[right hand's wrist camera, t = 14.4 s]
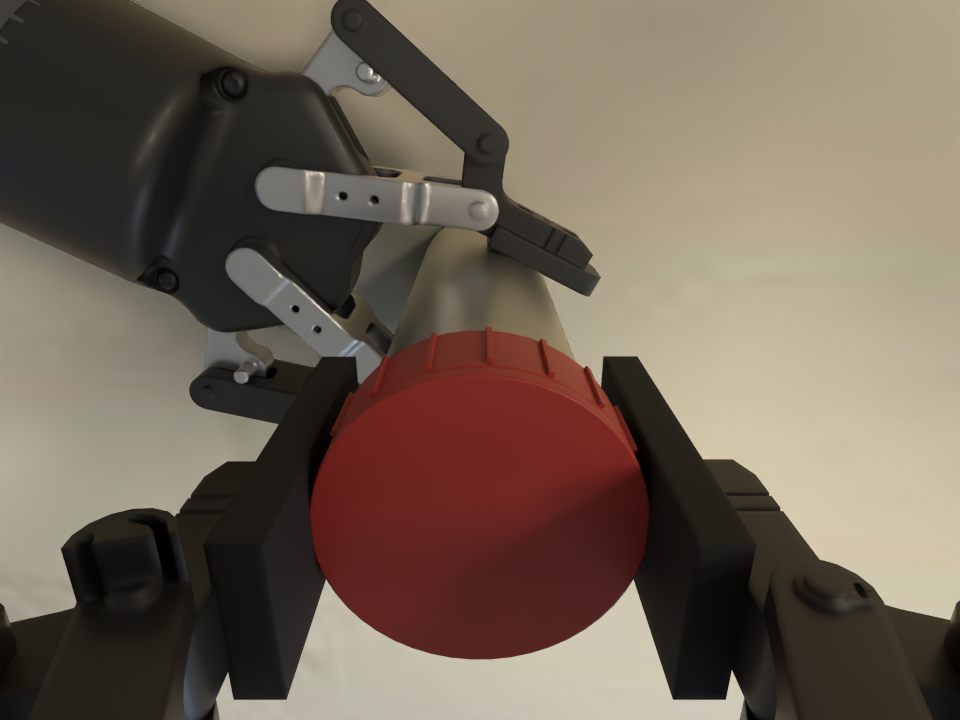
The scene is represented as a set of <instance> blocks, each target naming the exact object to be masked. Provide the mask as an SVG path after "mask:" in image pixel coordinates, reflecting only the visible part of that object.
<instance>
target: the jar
mask: <svg viewBox="0 0 960 720" xmlns="http://www.w3.org/2000/svg"><path fill="white" fill-rule="evenodd" d="M486 327H492V331H499V332H507V333H512V334H516V335H521V336H525V337H529V338H531V339H534V340H537V341H540V339H541V338H542V339H544V340H546V341H547V345H549V346H551V347H553V348H555V349H556V350H558V351H560V352H562V353H564V354H565V355H567V356H568V357H570V358H571V359H572V360H574V361H575V359H574V357H573V354H572V351H571V349H570V346H569V343H568V341H567V338H566V335H565V333H564V330H563V328H562V325H561V322H560V320H559V317H558V314H557V312H556V309H555V306H554V304H553V301H552V299H551V296H550V293H549V291H548V288H547V285H546V283H545V280H544V278H543V275H542V274H541V273H539V272H537V271H535V270H533V269H531V268H529V267H527V266H525V265H523V264H522V263H520V262H518V261H516V260H514V259H512V258H510V257H508V256H506V255H504V254H502V253H500V252H498V251H496V250H494V249H492V248H490V247H488V246H487V237H486V236H484V235H482V234H480V233H478V232H476V231H473V230H465V229H457V228H449V227H444V228H443V229H441V230H440V231H439V232H438V233H437V234H436V236H435V237H434V238H433V240H432V241H431V243H430V244H429V246H428V248H427V251H426V253H425V256H424V258H423V261H422V264H421V266H420V269H419V272H418V274H417V277H416V279H415V282H414V285H413V287H412V290H411V293H410V295H409V298H408V300H407V303H406V306H405V308H404V311H403V314H402V316H401V319H400V321H399V324H398V327H397V329H396V332H395V335H394V337H393V340H392V343H391V345H390V348H389V350H388V353H387V357H388V358H390V357H391V356H393V355H394V354H396V353H398V352H400V351H401V350H403V349H405V348H407V347H409V346H411V345H413V344H415V343H418V342H420V341H423V340H425V339H428V338H430V334H432V333H436V334H437V336H439V335H443V334H447V333H453V332H461V331H468V330H486Z"/></svg>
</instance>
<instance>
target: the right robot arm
mask: <svg viewBox="0 0 960 720" xmlns="http://www.w3.org/2000/svg"><path fill="white" fill-rule="evenodd" d="M601 388H602V390H603V391H604V392H605V394H606V395H607V397H608V399H609V401H610V403H611V404H612V406H613V407H614V406H616V405H617V406H618V408H619V410H620V412H621V415H622V417H623V419H624V421H625V423H626V425H627V427H628V430H629V432H630V434H631V436H632V438H633V440H634V443H635V445H636V447H637V449H638V451H636V452H634V455H635V457H636V459H637V461H638V463H639V466H640V469H641V471H642V474H643V476H644V479H645V482H646V486H647V490H648V495H649V500H650V513H649V523H648V532H647V540H646V547H645V554H644V558H643V560H642V562H641V564H640V567H639V569H638V571H637V574H636V575H635V577H634V582H635V585H636V588H637V591H638V594H639V597H640V600H641V603H642V606H643V609H644V612H645V615H646V618H647V621H648V624H649V628H650V631H651V634H652V637H653V640H654V643H655V646H656V649H657V652H658V655H659V658H660V661H661V664H662V667H663V670H664V673H665V676H666V679H667V683H668V686H669V689H670V692H671V695H672V698H673V700H726V696H727V691H728V686H729V681H730V676H731V671H733V673H734V675H735V677H736V680H737V682H738V684H739V686H740V688H741V691H742V693H743V695H744V697H745V698H744V702H743V707H742V712H741V716H740V720H960V601H959V602H957V603H956V606H955V609H954V612H953V615H952V617H951V620H947V619H942V618H938V617H933V616H929V615H924V614H920V613H915V612H910V611H906V610H901V609H897V608H894V607H890V606H887V605H885V604H884V602H883V600H882V599H881V598H880V596H879V595H878V593H877V592H876V590H875V589H874V588H873V587H872V586H871V585H870V584H869V583H867V582H866V581H865V580H863V579H862V578H861V577H860V576H858V575H857V574H855V573H853V572H851V571H849V570H847V569H845V568H843V567H841V566H839V565H837V564H834V563H830V562H826V561H823V560H819V558H818V557H817V556H816V554H815V553H814V552H813V550H812V549H811V548H810V546H809V545H808V544H807V542H806V541H805V540H804V539H803V537H802V536H801V535H800V533H799V532H798V531H797V529H796V528H795V527H794V525H793V524H792V523H791V521H790V520H789V519H788V517H787V516H786V515H785V513H784V512H783V511H780V507H779V505H778V504H777V503H776V501H775V500H774V499H773V497H772V496H769V492H768V491H767V489H766V488H765V487H764V486H763V484H762V483H761V482H760V480H759V479H758V478H757V476H756V475H755V474H753V473H752V472H750V471H749V470H747V469H746V468H744V467H743V466H741V465H740V464H738V463H737V462H736V461H734V460H703V459H702V457H701V456H700V454H699V453H698V451H697V450H696V448H695V446H694V445H693V443H692V442H691V440H690V439H689V437H688V435H687V434H686V432H685V431H684V429H683V428H682V426H681V424H680V423H679V421H678V420H677V418H676V417H675V415H674V414H673V412H672V410H671V409H670V407H669V406H668V404H667V403H666V401H665V399H664V398H663V396H662V395H661V393H660V392H659V390H658V388H657V387H656V385H655V384H654V382H653V381H652V379H651V377H650V376H649V374H648V373H647V371H646V370H645V368H644V366H643V365H642V363H641V362H640V360H639V359H638V357H603V370H602V382H601ZM357 389H358V375H357V363H356V357H322V358H321V359H320V361H319V363H318V364H317V366H316V367H315V369H314V370H313V372H312V374H311V375H310V377H309V378H308V380H307V381H306V383H305V385H304V386H303V388H302V389H301V391H300V392H299V394H298V396H297V397H296V399H295V400H294V402H293V403H292V405H291V406H290V408H289V410H288V411H287V413H286V414H285V416H284V417H283V419H282V421H281V422H280V424H279V425H278V427H277V428H276V430H275V432H274V433H273V435H272V436H271V438H270V439H269V441H268V443H267V444H266V446H265V447H264V449H263V450H262V452H261V454H260V455H259V457H258V458H257V460H256V461H255V462H226V463H224V464H223V465H221V466H220V467H218V468H217V469H215V470H214V471H212V472H211V473H210V474H208V475H207V476H205V477H204V478H203V480H202V481H201V482H200V484H199V485H198V486H197V488H196V489H195V490H194V492H193V493H192V494H191V498H188V500H187V501H186V502H185V504H184V505H183V506H182V508H181V509H180V513H179V514H176V516H175V517H174V516H173V515H172V514H170V513H169V512H168V511H163V510H159V509H154V508H145V509H131V510H127V511H123V512H118V513H114V514H110V515H108V516H106V517H103V518H101V519H99V520H96V521H94V522H92V523H89V524H88V525H86V526H85V527H84V528H82V529H81V530H79V531H78V532H76V533H75V534H73V535H72V536H71V537H70V538H69V540H68V541H67V542H66V543H65V544H64V546H63V547H62V548H61V551H62V554H63V558H64V561H65V564H66V568H67V571H68V574H69V578H70V581H71V584H72V587H73V591H74V594H75V597H76V601H77V603H76V606H75V608H72V609H68V610H65V611H61V612H57V613H53V614H48V615H44V616H39V617H34V618H30V619H25V620H21V621H16V622H12V623H10V622H9V619H8V616H7V613H6V611H5V608H4V606H3V605H2V604H1V603H0V720H220V719H219V712H218V707H217V702H216V697H217V695H218V693H219V691H220V688H221V686H222V684H223V682H224V679H225V677H226V675H227V673H229V678H230V683H231V688H232V693H233V698H234V700H286V699H287V696H288V693H289V690H290V687H291V684H292V681H293V678H294V675H295V672H296V669H297V666H298V663H299V660H300V657H301V654H302V651H303V648H304V645H305V641H306V638H307V635H308V632H309V629H310V626H311V623H312V620H313V617H314V614H315V611H316V608H317V605H318V602H319V599H320V596H321V593H322V590H323V586H324V583H325V580H326V578H325V576H324V574H323V572H322V570H321V568H320V566H319V563H318V561H317V559H316V555H315V551H314V544H313V536H312V527H311V518H310V498H311V493H312V488H313V484H314V481H315V478H316V475H317V472H318V470H319V467H320V465H321V462H322V460H323V458H324V456H325V454H326V451H327V449H328V447H329V445H330V442H331V440H332V438H333V437H332V436H330V433H331V431H332V429H333V427H334V424H335V422H336V420H337V418H338V416H339V414H340V412H341V409H342V407H343V405H344V403H345V401H346V399H347V396H348V395H349V393H350V392H352V393H355V392H356V391H357Z"/></svg>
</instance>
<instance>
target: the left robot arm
mask: <svg viewBox="0 0 960 720" xmlns="http://www.w3.org/2000/svg"><path fill="white" fill-rule="evenodd" d="M331 24H332V28H333V29H332V30H331V32H330V33H329V34H328V36H327V37H326V39H325V40H324V42H323V43H322V45H321V46H320V47H319V49H318V50H317V52H316V53H315V55H314V56H313V58H312V59H311V60H310V62H309V63H308V65H307V66H306V68H305V69H304V71H303V72H302V73H301V74H299V73H295V72H267V71H264V70H262V69H259V68H257V67H255V66H253V65H251V64H249V63H247V62H245V61H243V60H241V59H240V58H238V57H236V56H234V55H232V54H230V53H228V52H226V51H224V50H223V49H221V48H219V47H217V46H215V45H213V44H211V43H209V42H207V41H206V40H204V39H202V38H200V37H198V36H196V35H194V34H192V33H190V32H189V31H187V30H185V29H183V28H181V27H179V26H177V25H175V24H173V23H172V22H170V21H168V20H166V19H164V18H162V17H160V16H158V15H156V14H155V13H153V12H151V11H149V10H147V9H145V8H143V7H141V6H139V5H138V4H136V3H134V2H132V1H130V0H0V223H3V224H5V225H7V226H9V227H11V228H14V229H16V230H18V231H20V232H22V233H25V234H27V235H29V236H31V237H33V238H35V239H38V240H40V241H42V242H44V243H46V244H49V245H51V246H53V247H55V248H57V249H60V250H62V251H64V252H66V253H69V254H71V255H73V256H75V257H77V258H80V259H82V260H84V261H86V262H88V263H91V264H93V265H95V266H97V267H99V268H102V269H104V270H106V271H108V272H110V273H113V274H115V275H117V276H119V277H121V278H124V279H126V280H128V281H130V282H133V283H136V284H138V285H142V286H145V287H148V288H151V289H155V290H158V291H161V292H164V293H167V294H169V295H171V296H173V297H174V298H176V299H177V300H178V301H180V302H181V303H182V304H183V305H184V306H185V307H186V308H187V309H188V310H189V311H190V312H191V313H192V314H193V315H194V316H195V318H196V319H197V320H198V321H199V322H200V323H202V324H203V325H204V326H206V327H208V330H207V342H206V355H205V367H204V371H203V372H202V373H201V374H200V375H199V376H198V377H197V378H196V379H195V380H194V381H193V382H192V383H191V385H190V389H189V392H190V396H191V398H192V400H193V401H194V402H195V403H196V404H197V405H198V406H200V407H202V408H204V409H209V410H213V411H218V412H223V413H228V414H233V415H238V416H242V417H247V418H252V419H257V420H262V421H267V422H271V423H276V424H280V422H281V421H282V419H283V417H284V416H285V414H286V413H287V411H288V410H289V408H290V406H291V405H292V403H293V402H294V400H295V399H296V397H297V396H298V394H299V392H300V391H301V389H302V388H303V386H304V385H305V383H306V381H307V380H308V378H309V377H310V375H311V374H312V372H313V370H314V369H315V368H313V367H308V366H304V365H299V364H294V363H290V362H285V361H281V360H276V359H274V357H273V354H272V352H271V351H270V350H269V348H267V347H266V346H263V345H261V344H258V343H256V342H254V341H253V340H252V339H251V338H250V337H249V336H248V335H247V333H246V330H253V329H260V328H267V327H274V326H280V325H286V326H288V327H289V328H290V329H291V330H292V331H293V332H294V333H295V334H296V335H297V336H299V337H300V338H301V339H302V340H303V341H304V342H305V343H306V344H307V345H308V346H309V347H311V348H312V349H313V350H314V351H315V352H316V353H317V354H318V355H319V356H320V357H356V363H357V375H358V388H359V387H360V385H361V384H362V382H363V381H364V380H365V379H366V378H367V377H368V376H369V375H370V374H371V373H372V372H373V371H374V370H375V369H376V368H377V367H378V366H379V365H380V362H381V360H382V358H383V357H385V356H387V353H388V350H389V348H390V345H391V343H392V340H393V337H394V335H393V334H392V333H391V332H390V331H389V330H388V329H387V328H386V327H385V326H384V325H383V324H382V323H381V322H380V321H379V320H378V319H377V317H376V316H375V313H374V311H373V309H372V308H371V307H370V305H369V304H368V303H367V302H366V301H365V300H364V299H363V298H361V297H360V296H359V295H358V294H357V293H356V292H355V291H354V290H353V288H354V286H355V283H356V281H357V279H358V277H359V275H360V271H361V264H362V257H363V251H364V249H365V248H366V247H367V245H368V244H369V243H370V242H371V241H372V239H373V238H374V237H375V236H376V235H377V233H378V232H379V230H380V228H381V226H382V224H383V222H385V223H393V224H401V225H417V224H425V225H433V226H441V227H449V228H457V229H465V230H473V231H476V232H478V233H480V234H482V235H484V236H486V237H487V246H488V247H490V248H492V249H494V250H496V251H498V252H500V253H502V254H504V255H506V256H508V257H510V258H512V259H514V260H516V261H518V262H520V263H522V264H523V265H525V266H527V267H529V268H531V269H533V270H535V271H537V272H539V273H541V274H543V275H545V276H547V277H549V278H551V279H553V280H554V281H556V282H558V283H560V284H562V285H564V286H566V287H568V288H570V289H572V290H574V291H576V292H578V293H580V294H582V295H585V296H588V297H589V296H590V295H591V293H592V291H593V290H594V288H595V286H596V285H597V283H598V281H599V280H600V278H601V277H600V276H599V274H598V273H597V271H596V270H595V269H594V267H593V266H591V265H590V264H588V263H589V261H590V259H591V257H592V256H593V255H592V253H591V252H590V251H589V250H588V248H587V247H586V246H585V244H584V243H583V242H582V241H581V240H580V238H579V237H578V236H577V235H576V234H575V233H573V232H571V231H570V230H568V229H566V228H564V227H562V226H560V225H558V224H556V223H554V222H553V221H550V220H549V219H547V218H545V217H543V216H541V215H539V214H537V213H536V212H534V211H532V210H530V209H528V208H526V207H524V206H522V205H520V204H519V203H517V202H515V201H513V200H511V199H510V198H509V197H508V196H507V195H506V194H505V192H504V190H503V188H502V179H503V171H504V164H505V156H506V154H507V151H508V147H509V140H508V136H507V134H506V132H505V130H504V129H503V128H502V127H501V126H500V125H499V124H498V123H497V122H496V121H495V120H494V119H493V118H491V117H490V116H489V115H488V114H487V113H486V112H485V111H484V110H483V109H482V108H481V107H480V106H479V105H478V104H476V103H475V102H474V101H473V100H472V99H471V98H470V97H469V96H468V95H467V94H466V93H465V92H464V91H463V90H462V89H460V88H459V87H458V86H457V85H456V84H455V83H454V82H453V81H452V80H451V79H450V78H449V77H448V76H447V75H445V74H444V73H443V72H442V71H441V70H440V69H439V68H438V67H437V66H436V65H435V64H434V63H433V62H432V61H430V60H429V59H428V58H427V57H426V56H425V55H424V54H423V53H422V52H421V51H420V50H419V49H418V48H417V47H415V46H414V45H413V44H412V43H411V42H410V41H409V40H408V39H407V38H406V37H405V36H404V35H403V34H402V33H401V32H399V31H398V30H397V29H396V28H395V27H394V26H393V25H392V24H391V23H390V22H389V21H388V20H387V19H386V18H384V17H383V16H382V15H381V14H380V13H379V12H378V11H377V10H376V9H375V8H374V7H373V6H372V5H371V4H369V3H368V2H367V1H366V0H338V1H337V2H336V4H335V5H334V7H333V9H332V13H331ZM391 87H393V88H394V89H395V90H396V91H397V92H399V93H400V94H401V95H402V96H403V97H404V98H405V99H406V100H407V101H408V102H410V103H411V104H412V105H413V106H414V107H415V108H416V109H417V110H418V111H420V112H421V113H422V114H423V115H424V116H425V117H426V118H427V119H428V120H429V121H431V122H432V123H433V124H434V125H435V126H436V127H437V128H438V129H439V130H441V131H442V132H443V133H444V134H445V135H446V136H447V137H448V138H449V139H451V140H452V141H453V142H454V143H455V144H456V145H457V146H458V147H459V148H460V149H462V150H463V151H464V152H465V155H464V164H463V174H462V179H459V178H452V177H444V176H436V175H430V174H427V173H423V172H417V171H410V170H402V169H394V168H386V167H379V166H372V164H371V162H370V161H369V159H368V157H367V155H366V153H365V152H364V150H363V148H362V146H361V144H360V142H359V141H358V139H357V137H356V135H355V133H354V131H353V130H352V128H351V126H350V124H349V122H348V120H347V119H346V117H345V115H344V113H343V111H342V109H341V108H340V106H339V104H338V102H337V100H336V98H335V97H334V96H335V95H336V93H338V92H339V91H340V90H342V89H345V88H352V89H354V90H356V91H357V92H359V93H360V94H363V95H366V96H372V97H378V96H382V95H384V94H385V93H387V92H388V91H389V90H390V88H391ZM318 326H319V327H321V328H319V327H318Z"/></svg>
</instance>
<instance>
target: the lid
mask: <svg viewBox="0 0 960 720" xmlns="http://www.w3.org/2000/svg"><path fill="white" fill-rule="evenodd" d="M330 436H332V437H333V438H332V440H331V442H330V445H329V447H328V449H327V451H326V454H325V456H324V458H323V460H322V462H321V465H320V467H319V470H318V472H317V475H316V478H315V481H314V484H313V488H312V493H311V498H310V518H311V527H312V536H313V544H314V551H315V555H316V559H317V561H318V563H319V566H320V568H321V570H322V572H323V574H324V576H325V578H326V580H327V581H328V583H329V584H330V586H331V587H332V589H333V590H334V592H335V593H336V594H337V596H338V597H339V598H340V599H341V600H342V601H343V603H344V604H345V605H346V606H347V607H348V608H349V609H350V610H351V611H352V612H353V613H354V614H356V615H357V616H358V617H359V618H360V619H361V620H362V621H364V622H365V623H367V624H368V625H369V626H371V627H372V628H374V629H375V630H376V631H378V632H380V633H382V634H384V635H385V636H387V637H389V638H391V639H393V640H395V641H397V642H399V643H402V644H404V645H406V646H409V647H411V648H414V649H417V650H421V651H424V652H427V653H431V654H436V655H441V656H446V657H451V658H462V659H498V658H508V657H514V656H519V655H524V654H529V653H533V652H536V651H539V650H542V649H545V648H548V647H551V646H553V645H556V644H558V643H560V642H563V641H565V640H567V639H569V638H571V637H573V636H574V635H576V634H578V633H580V632H581V631H583V630H585V629H586V628H588V627H589V626H590V625H592V624H593V623H594V622H596V621H597V620H598V619H600V618H601V617H602V616H603V615H604V614H605V613H606V612H607V611H608V610H609V609H611V608H612V607H613V606H614V605H615V603H616V602H617V601H618V600H619V599H620V597H621V596H622V595H623V594H624V593H625V591H626V590H627V588H628V587H629V585H630V584H631V582H632V580H633V579H634V577H635V575H636V574H637V571H638V569H639V567H640V564H641V562H642V560H643V558H644V554H645V547H646V540H647V532H648V523H649V513H650V500H649V495H648V490H647V486H646V482H645V479H644V476H643V474H642V471H641V469H640V466H639V463H638V461H637V459H636V457H635V455H634V452H636V451H638V449H637V447H636V445H635V443H634V440H633V438H632V436H631V434H630V432H629V430H628V427H627V425H626V423H625V421H624V419H623V417H622V415H621V412H620V410H619V408H618V406H617V405H616V406H614V407H613V406H612V404H611V403H610V401H609V399H608V397H607V395H606V394H605V392H604V391H603V390H602V388H601V387H600V386H599V384H598V383H597V382H596V381H595V379H594V376H593V374H592V372H591V369H590V368H589V367H587V366H586V367H585V368H583V367H581V366H580V365H579V364H578V363H576V362H575V361H574V360H572V359H571V358H570V357H568V356H567V355H565V354H564V353H562V352H560V351H558V350H556V349H555V348H553V347H551V346H549V345H547V341H546V340H544V339H542V338H541V339H540V341H537V340H534V339H531V338H529V337H525V336H521V335H516V334H512V333H507V332H499V331H492V327H486V330H468V331H461V332H453V333H447V334H443V335H439V336H437V334H436V333H432V334H430V338H428V339H425V340H423V341H420V342H418V343H415V344H413V345H411V346H409V347H407V348H405V349H403V350H401V351H400V352H398V353H396V354H394V355H393V356H391V357H390V358H388V357H387V356H385V357H383V358H382V360H381V362H380V365H379V366H378V367H377V368H376V369H375V370H374V371H373V372H372V373H371V374H370V375H369V376H368V377H367V378H366V379H365V380H364V381H363V382H362V384H361V385H360V387H359V388H358V389H357V391H356V392H355V393H352V392H350V393H349V395H348V396H347V399H346V401H345V403H344V405H343V407H342V409H341V412H340V414H339V416H338V418H337V420H336V422H335V424H334V427H333V429H332V431H331V433H330Z"/></svg>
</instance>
